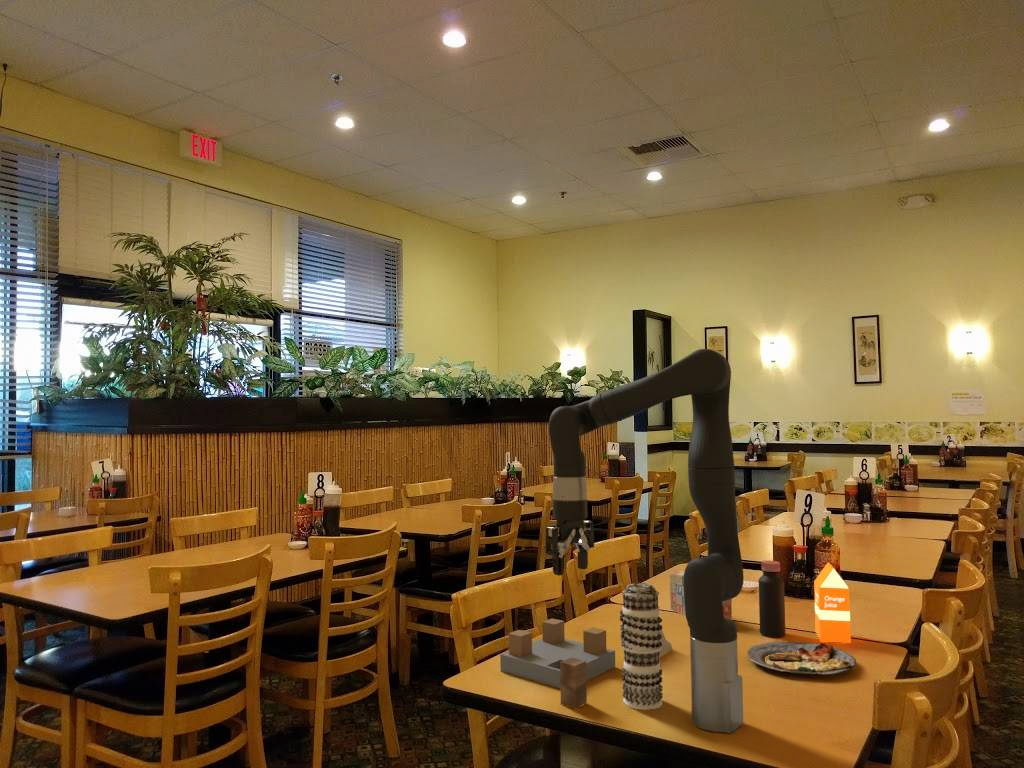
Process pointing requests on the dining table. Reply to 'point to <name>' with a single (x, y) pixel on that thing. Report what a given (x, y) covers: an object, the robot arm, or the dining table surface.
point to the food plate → (802, 658)
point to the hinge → (665, 644)
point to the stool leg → (573, 682)
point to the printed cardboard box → (678, 596)
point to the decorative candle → (641, 647)
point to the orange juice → (832, 607)
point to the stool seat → (555, 653)
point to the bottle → (771, 600)
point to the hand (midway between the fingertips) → (570, 571)
